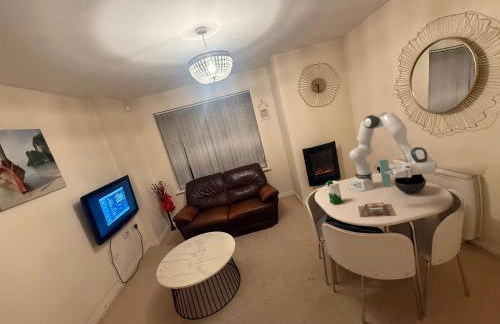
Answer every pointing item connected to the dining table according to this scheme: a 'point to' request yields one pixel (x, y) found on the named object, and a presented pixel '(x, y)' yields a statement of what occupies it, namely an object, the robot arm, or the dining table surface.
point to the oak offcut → (375, 206)
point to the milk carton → (334, 192)
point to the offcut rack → (386, 211)
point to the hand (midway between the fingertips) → (383, 171)
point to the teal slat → (385, 177)
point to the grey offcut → (376, 209)
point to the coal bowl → (411, 183)
